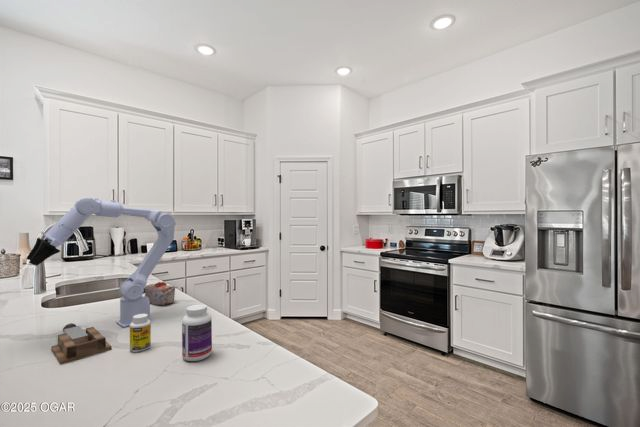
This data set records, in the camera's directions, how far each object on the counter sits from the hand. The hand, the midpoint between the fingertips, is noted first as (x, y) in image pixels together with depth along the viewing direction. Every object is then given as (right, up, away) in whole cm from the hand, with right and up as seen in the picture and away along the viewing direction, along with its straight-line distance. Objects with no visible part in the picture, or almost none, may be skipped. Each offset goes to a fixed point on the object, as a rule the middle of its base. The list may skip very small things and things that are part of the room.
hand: (31, 262), depth 95 cm
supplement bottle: (+36, -27, -3) cm, 45 cm away
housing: (+19, -26, -3) cm, 32 cm away
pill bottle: (+56, -27, -8) cm, 62 cm away
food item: (+18, -26, +43) cm, 54 cm away
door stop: (+12, -26, +2) cm, 29 cm away
